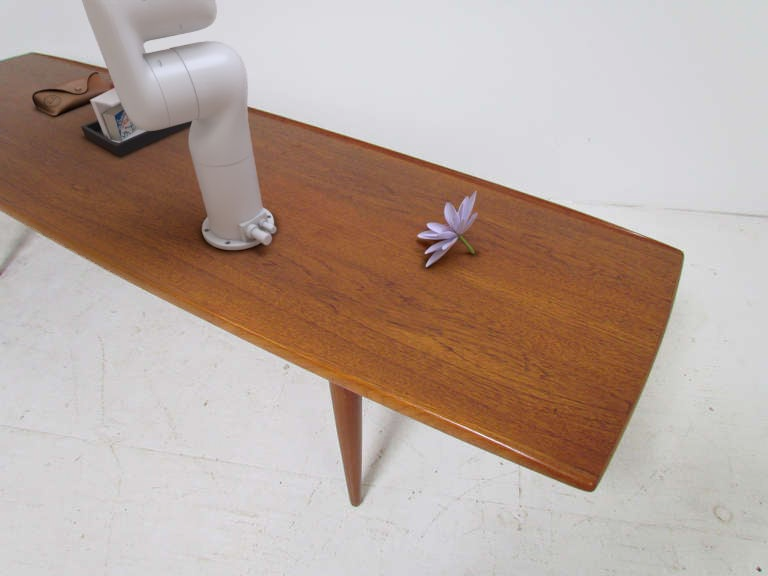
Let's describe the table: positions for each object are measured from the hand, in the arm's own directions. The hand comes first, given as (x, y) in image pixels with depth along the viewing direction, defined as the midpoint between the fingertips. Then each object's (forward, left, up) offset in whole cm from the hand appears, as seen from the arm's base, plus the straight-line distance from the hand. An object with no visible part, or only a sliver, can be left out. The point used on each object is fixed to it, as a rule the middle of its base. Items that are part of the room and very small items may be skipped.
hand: (141, 103), depth 112 cm
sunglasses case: (+25, +2, -6) cm, 26 cm away
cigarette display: (0, 0, -5) cm, 5 cm away
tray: (0, 0, -6) cm, 6 cm away
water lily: (-77, -7, -6) cm, 77 cm away
